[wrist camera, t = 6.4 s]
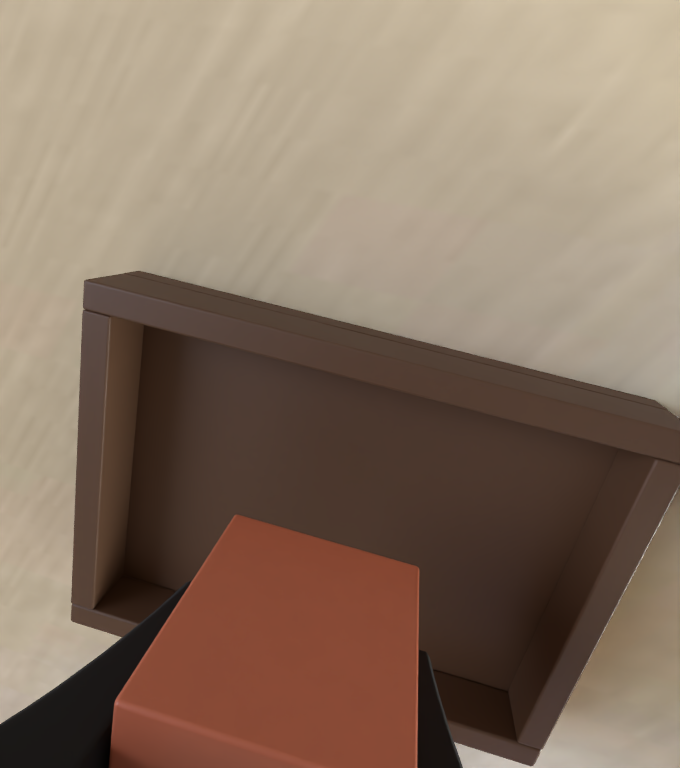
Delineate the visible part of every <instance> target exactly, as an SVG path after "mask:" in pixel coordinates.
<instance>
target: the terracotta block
mask: <svg viewBox="0 0 680 768" xmlns="http://www.w3.org/2000/svg"><path fill="white" fill-rule="evenodd" d="M418 634H419V568H418V567H417V566H415V565H411V564H408V563H404V562H401V561H397V560H394V559H390V558H387V557H384V556H380V555H377V554H373V553H370V552H366V551H363V550H359V549H356V548H352V547H349V546H345V545H342V544H339V543H335V542H332V541H328V540H325V539H321V538H318V537H314V536H311V535H307V534H304V533H300V532H297V531H293V530H290V529H287V528H283V527H280V526H276V525H273V524H269V523H266V522H262V521H259V520H255V519H252V518H248V517H245V516H241V515H235V516H234V517H233V519H232V520H231V522H230V523H229V525H228V526H227V528H226V529H225V531H224V532H223V534H222V536H221V537H220V539H219V540H218V542H217V543H216V545H215V546H214V548H213V549H212V551H211V553H210V554H209V556H208V557H207V559H206V560H205V562H204V563H203V565H202V567H201V568H200V570H199V571H198V573H197V574H196V576H195V577H194V579H193V580H192V582H191V584H190V585H189V587H188V588H187V590H186V591H185V593H184V594H183V596H182V597H181V599H180V601H179V602H178V604H177V605H176V607H175V608H174V610H173V611H172V613H171V615H170V616H169V618H168V619H167V621H166V622H165V624H164V625H163V627H162V628H161V630H160V632H159V633H158V635H157V636H156V638H155V639H154V641H153V642H152V644H151V645H150V647H149V649H148V650H147V652H146V653H145V655H144V656H143V658H142V659H141V661H140V663H139V664H138V666H137V667H136V669H135V670H134V672H133V673H132V675H131V676H130V678H129V680H128V681H127V683H126V684H125V686H124V687H123V689H122V690H121V692H120V693H119V695H118V697H117V698H116V700H115V703H114V711H113V723H112V735H111V747H110V759H109V768H417V731H418Z"/></svg>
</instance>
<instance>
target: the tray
mask: <svg viewBox="0 0 680 768" xmlns="http://www.w3.org/2000/svg"><path fill="white" fill-rule="evenodd" d="M83 308H84V309H85V310H83V318H82V343H81V368H80V394H79V419H78V445H77V470H76V495H75V521H74V546H73V572H72V597H71V602H72V609H71V620H72V621H73V622H76V623H79V624H82V625H85V626H88V627H91V628H95V629H98V630H101V631H104V632H107V633H110V634H114V635H117V636H120V637H124V636H125V635H126V634H127V633H129V632H130V631H131V630H132V629H134V628H135V627H136V626H137V625H138V624H140V623H141V622H142V621H143V620H144V619H146V618H147V617H148V616H149V615H150V614H151V613H153V612H154V611H155V610H156V609H157V608H158V607H160V606H161V605H162V604H163V603H164V602H165V601H166V600H167V599H168V598H170V597H171V596H172V595H173V594H174V593H175V592H176V591H177V590H178V589H179V588H181V587H182V586H183V585H184V584H185V583H187V582H189V581H192V580H193V579H194V577H195V576H196V574H197V573H198V571H199V570H200V568H201V567H202V565H203V563H204V562H205V560H206V559H207V557H208V556H209V554H210V553H211V551H212V549H213V548H214V546H215V545H216V543H217V542H218V540H219V539H220V537H221V536H222V534H223V532H224V531H225V529H226V528H227V526H228V525H229V523H230V522H231V520H232V519H233V517H234V516H235V515H241V516H245V517H248V518H252V519H255V520H259V521H262V522H266V523H269V524H273V525H276V526H280V527H283V528H287V529H290V530H293V531H297V532H300V533H304V534H307V535H311V536H314V537H318V538H321V539H325V540H328V541H332V542H335V543H339V544H342V545H345V546H349V547H352V548H356V549H359V550H363V551H366V552H370V553H373V554H377V555H380V556H384V557H387V558H390V559H394V560H397V561H401V562H404V563H408V564H411V565H415V566H417V567H418V568H419V634H418V649H419V650H422V651H425V652H427V654H428V655H429V657H430V660H431V665H432V669H433V673H434V677H435V681H436V685H437V688H438V692H439V695H440V699H441V702H442V706H443V709H444V712H445V716H446V719H447V722H448V725H449V729H450V732H451V735H452V738H453V741H454V742H456V743H459V744H462V745H465V746H468V747H472V748H475V749H478V750H481V751H484V752H487V753H491V754H494V755H497V756H500V757H503V758H506V759H510V760H513V761H516V762H519V763H522V764H525V765H529V766H534V764H535V762H536V760H537V758H538V756H539V754H540V752H541V749H543V747H544V746H545V744H546V742H547V740H548V738H549V736H550V734H551V732H552V730H553V728H554V726H555V724H556V723H557V721H558V719H559V717H560V715H561V713H562V711H563V709H564V707H565V705H566V703H567V701H568V700H569V698H570V696H571V694H572V692H573V690H574V688H575V686H576V684H577V682H578V680H579V678H580V676H581V675H582V673H583V671H584V669H585V667H586V665H587V663H588V661H589V659H590V657H591V655H592V653H593V652H594V650H595V648H596V646H597V644H598V642H599V640H600V638H601V636H602V634H603V632H604V630H605V629H606V627H607V625H608V623H609V621H610V619H611V617H612V615H613V613H614V611H615V609H616V607H617V606H618V604H619V602H620V600H621V598H622V596H623V594H624V592H625V590H626V588H627V586H628V584H629V583H630V581H631V579H632V577H633V575H634V573H635V571H636V569H637V567H638V565H639V563H640V561H641V560H642V558H643V556H644V554H645V552H646V550H647V548H648V546H649V544H650V542H651V540H652V538H653V536H654V535H655V533H656V531H657V529H658V527H659V525H660V523H661V521H662V519H663V517H664V515H665V513H666V512H667V510H668V508H669V506H670V504H671V502H672V500H673V498H674V496H675V494H676V492H677V490H678V489H679V487H680V419H679V418H677V417H676V416H675V415H673V414H672V413H671V412H669V411H668V410H667V409H666V408H665V407H663V406H662V405H661V404H659V403H658V402H657V401H655V400H651V399H647V398H643V397H639V396H635V395H631V394H627V393H623V392H620V391H616V390H612V389H608V388H604V387H600V386H596V385H592V384H588V383H584V382H580V381H576V380H572V379H568V378H564V377H560V376H556V375H552V374H548V373H544V372H540V371H536V370H532V369H528V368H524V367H520V366H516V365H512V364H508V363H504V362H500V361H496V360H492V359H488V358H484V357H480V356H476V355H472V354H468V353H464V352H460V351H456V350H452V349H448V348H444V347H440V346H436V345H432V344H428V343H424V342H420V341H416V340H412V339H408V338H404V337H400V336H396V335H392V334H388V333H384V332H380V331H376V330H372V329H368V328H364V327H360V326H356V325H352V324H348V323H345V322H341V321H337V320H333V319H329V318H325V317H321V316H317V315H313V314H309V313H305V312H301V311H297V310H293V309H289V308H285V307H281V306H277V305H273V304H269V303H265V302H261V301H257V300H253V299H249V298H245V297H241V296H237V295H233V294H229V293H225V292H221V291H217V290H213V289H209V288H205V287H201V286H197V285H193V284H189V283H185V282H181V281H177V280H173V279H169V278H165V277H161V276H157V275H153V274H149V273H145V272H141V271H135V272H129V273H124V274H118V275H112V276H106V277H100V278H94V279H88V280H85V281H84V298H83Z"/></svg>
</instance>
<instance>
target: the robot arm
mask: <svg viewBox="0 0 680 768" xmlns="http://www.w3.org/2000/svg"><path fill="white" fill-rule="evenodd" d="M191 582H192V581H189V582H187V583H185V584H184V585H183V586H182V587H181V588H179V589H178V590H177V591H176V592H175V593H174V594H173V595H172V596H171V597H170V598H168V599H167V600H166V601H165V602H164V603H163V604H162V605H161V606H160V607H158V608H157V609H156V610H155V611H154V612H153V613H151V614H150V615H149V616H148V617H147V618H146V619H144V620H143V621H142V622H141V623H140V624H138V625H137V626H136V627H135V628H134V629H132V630H131V631H130V632H129V633H127V634H126V635H125V636H124V637H122V638H121V639H120V640H119V641H117V642H116V643H115V644H114V645H112V646H111V647H110V648H109V649H107V650H106V651H105V652H104V653H102V654H101V655H100V656H98V657H97V658H96V659H94V660H93V661H92V662H90V663H89V664H87V665H86V666H85V667H83V668H82V669H81V670H79V671H78V672H77V673H75V674H74V675H72V676H71V677H70V678H68V679H67V680H66V681H64V682H63V683H61V684H60V685H59V686H57V687H56V688H54V689H53V690H51V691H50V692H49V693H47V694H46V695H44V696H43V697H41V698H40V699H38V700H37V701H35V702H34V703H32V704H31V705H29V706H28V707H26V708H25V709H23V710H22V711H20V712H18V713H17V714H15V715H14V716H12V717H11V718H9V719H8V720H6V721H4V722H3V723H1V724H0V768H109V759H110V747H111V735H112V723H113V711H114V703H115V700H116V698H117V697H118V695H119V693H120V692H121V690H122V689H123V687H124V686H125V684H126V683H127V681H128V680H129V678H130V676H131V675H132V673H133V672H134V670H135V669H136V667H137V666H138V664H139V663H140V661H141V659H142V658H143V656H144V655H145V653H146V652H147V650H148V649H149V647H150V645H151V644H152V642H153V641H154V639H155V638H156V636H157V635H158V633H159V632H160V630H161V628H162V627H163V625H164V624H165V622H166V621H167V619H168V618H169V616H170V615H171V613H172V611H173V610H174V608H175V607H176V605H177V604H178V602H179V601H180V599H181V597H182V596H183V594H184V593H185V591H186V590H187V588H188V587H189V585H190V584H191ZM417 768H463V767H462V764H461V761H460V758H459V755H458V752H457V749H456V747H455V744H454V741H453V738H452V735H451V732H450V729H449V725H448V722H447V719H446V716H445V712H444V709H443V706H442V702H441V699H440V695H439V692H438V688H437V685H436V681H435V677H434V673H433V669H432V665H431V660H430V657H429V655H428V654H427V652H425V651H422V650H419V649H418V731H417Z"/></svg>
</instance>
